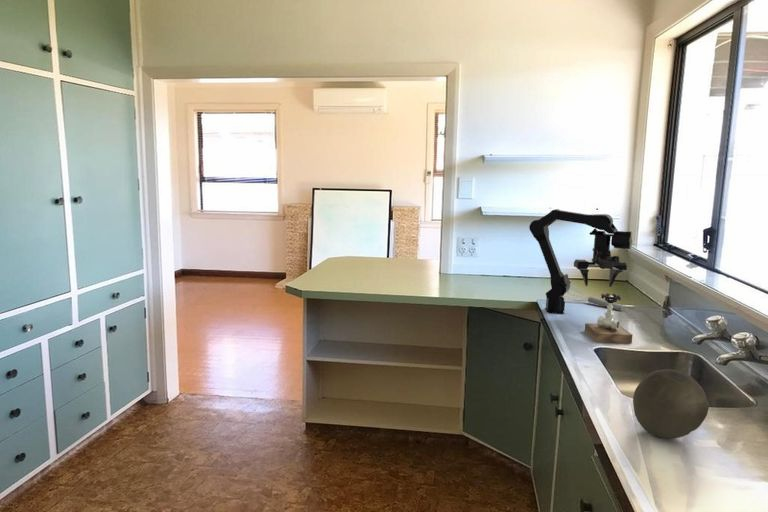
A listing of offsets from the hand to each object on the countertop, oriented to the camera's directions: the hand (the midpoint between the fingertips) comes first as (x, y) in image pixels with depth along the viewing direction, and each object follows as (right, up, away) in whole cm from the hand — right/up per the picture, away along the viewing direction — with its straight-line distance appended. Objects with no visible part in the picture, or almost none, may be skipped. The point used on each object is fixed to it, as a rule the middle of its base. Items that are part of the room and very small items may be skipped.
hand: (598, 286), depth 209 cm
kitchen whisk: (+6, -9, +26) cm, 28 cm away
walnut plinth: (-5, -17, -21) cm, 28 cm away
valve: (-5, -14, -21) cm, 26 cm away
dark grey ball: (-21, -28, -91) cm, 97 cm away
